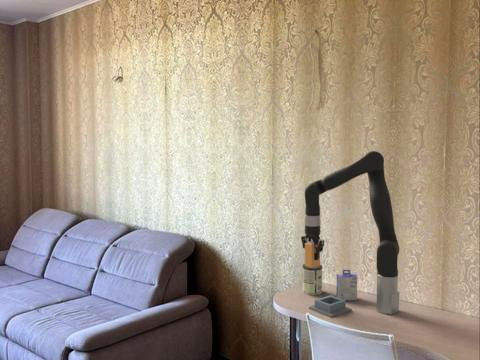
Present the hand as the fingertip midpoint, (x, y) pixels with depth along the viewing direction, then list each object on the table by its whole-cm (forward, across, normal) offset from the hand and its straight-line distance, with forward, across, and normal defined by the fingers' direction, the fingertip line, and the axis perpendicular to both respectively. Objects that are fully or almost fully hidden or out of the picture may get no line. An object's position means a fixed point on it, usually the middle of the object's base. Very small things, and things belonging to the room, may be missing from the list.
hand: (312, 258), depth 224 cm
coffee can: (+22, +11, -12) cm, 28 cm away
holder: (+22, -12, 0) cm, 25 cm away
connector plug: (+3, 0, 0) cm, 3 cm away
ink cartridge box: (+22, -7, -18) cm, 29 cm away
